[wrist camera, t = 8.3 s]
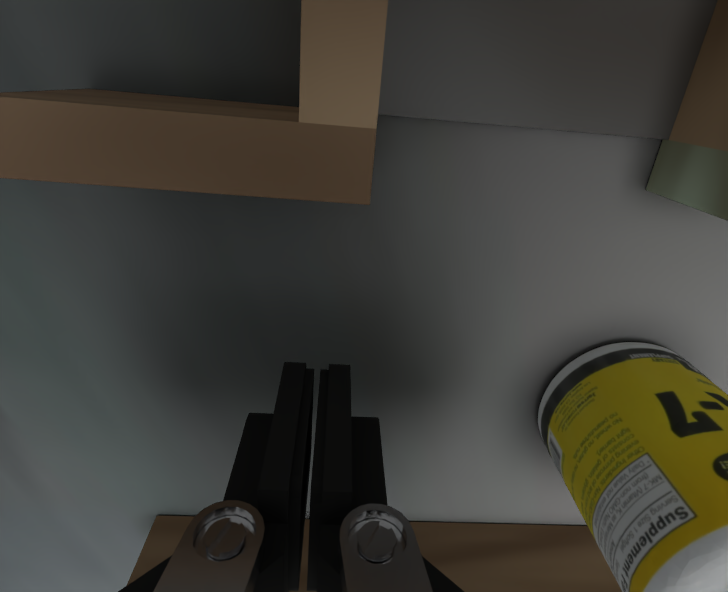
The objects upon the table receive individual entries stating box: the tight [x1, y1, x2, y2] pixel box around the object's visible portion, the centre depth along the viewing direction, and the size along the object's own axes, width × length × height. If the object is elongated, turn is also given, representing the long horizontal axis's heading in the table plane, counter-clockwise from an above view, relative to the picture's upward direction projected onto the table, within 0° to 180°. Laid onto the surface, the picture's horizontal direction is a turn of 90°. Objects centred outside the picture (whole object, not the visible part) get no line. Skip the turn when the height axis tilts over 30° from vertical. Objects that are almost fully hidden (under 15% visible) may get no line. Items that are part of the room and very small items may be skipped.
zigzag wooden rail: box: [0, 0, 728, 592], centre depth 11 cm, size 22×21×4 cm
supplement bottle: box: [538, 342, 728, 592], centre depth 10 cm, size 5×5×8 cm
